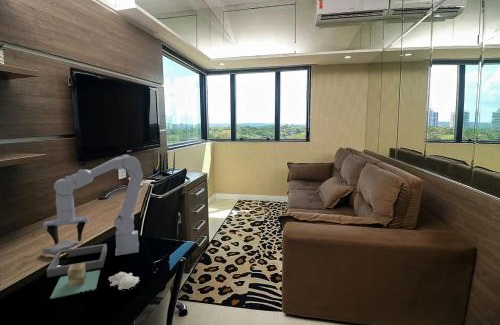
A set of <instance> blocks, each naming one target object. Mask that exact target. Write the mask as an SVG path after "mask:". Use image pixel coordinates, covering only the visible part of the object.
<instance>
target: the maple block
mask: <svg viewBox="0 0 500 325" xmlns="http://www.w3.org/2000/svg"><path fill="white" fill-rule="evenodd" d="M78 263H79V264H77V263H72V264H73V265H71V264H69V265H70V267H69V269H68V271H67V272H68V274H67V276H68V283H69V287H72V286H77V285H82V284H84V282H85V279H86V272H87V270H85V263H83V262H78Z"/></svg>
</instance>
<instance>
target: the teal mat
mask: <svg viewBox="0 0 500 325" xmlns="http://www.w3.org/2000/svg"><path fill="white" fill-rule="evenodd" d="M100 274H101V269H99V270H98V269H97V270H96V269H95V270H93V271H92V270H90V271H86V279H85V282H84V284H82V285H77V286H72V287H69V283H68V275H63V276H60V278H59V279H58V281H57V284H56V286H55V287H54V289H53V292H52V293H51V296H50V298H49V299H50V300H54V299H57V298H62V297H67V296H71V295H76V294H77V295H78V294H80V292H82V293H86V292H85V291H87V292H90V291H89V290H91V291H95V289H96V290H97V285H98V282H99V278H100Z"/></svg>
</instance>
